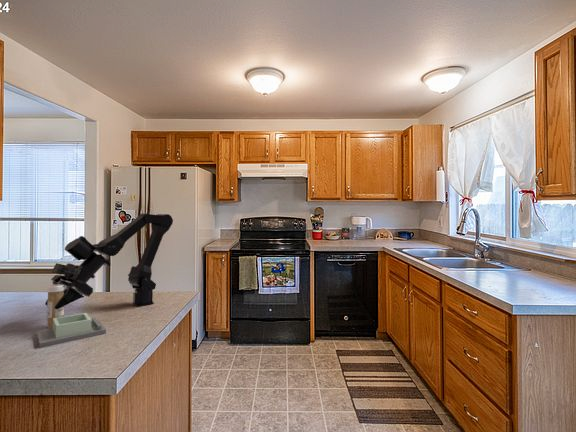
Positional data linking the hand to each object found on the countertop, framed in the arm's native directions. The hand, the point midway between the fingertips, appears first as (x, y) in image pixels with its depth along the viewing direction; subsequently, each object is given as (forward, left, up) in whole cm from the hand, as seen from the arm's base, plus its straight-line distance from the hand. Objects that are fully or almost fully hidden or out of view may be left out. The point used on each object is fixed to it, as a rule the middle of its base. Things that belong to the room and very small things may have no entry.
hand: (50, 306), depth 99 cm
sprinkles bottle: (-1, 0, -7) cm, 7 cm away
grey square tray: (-4, +12, -7) cm, 14 cm away
